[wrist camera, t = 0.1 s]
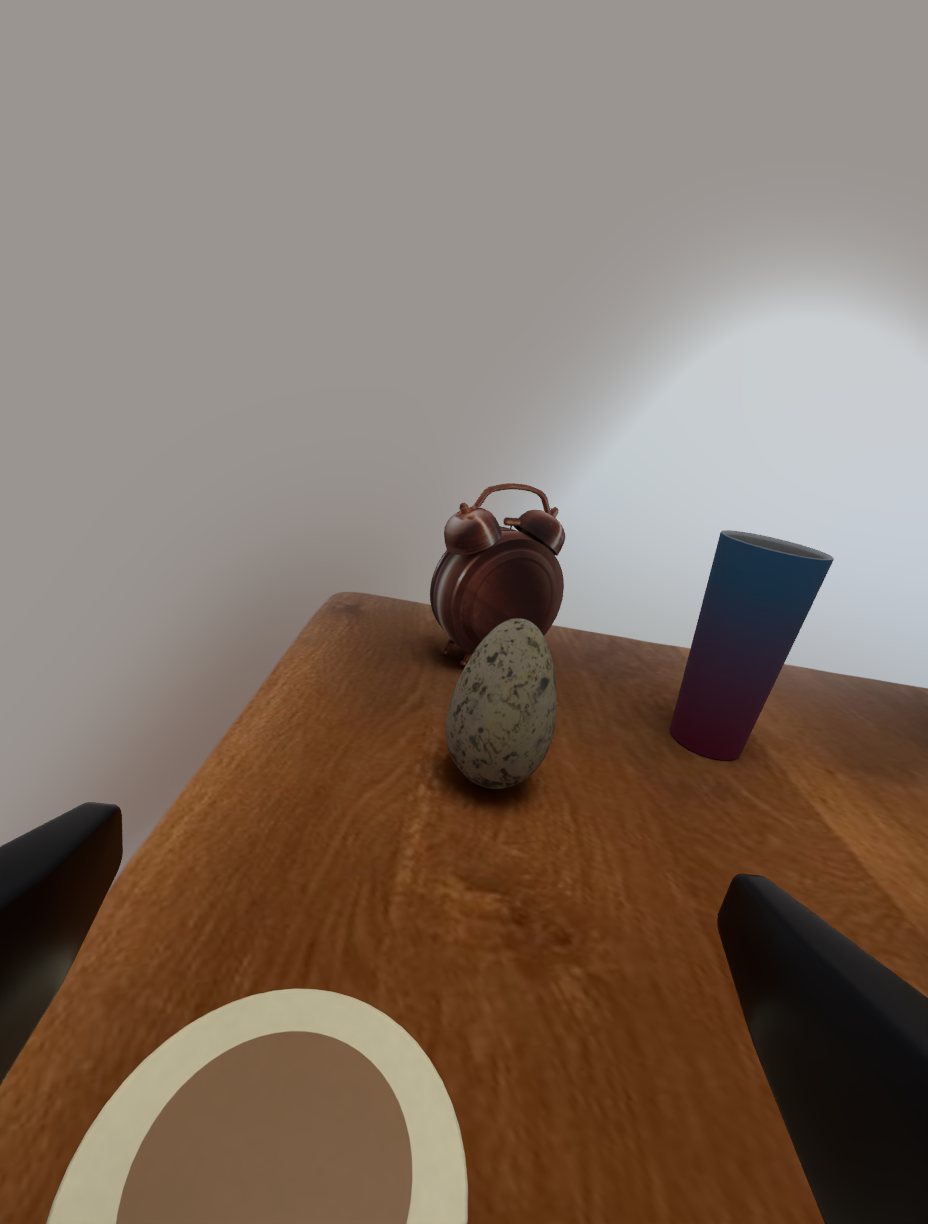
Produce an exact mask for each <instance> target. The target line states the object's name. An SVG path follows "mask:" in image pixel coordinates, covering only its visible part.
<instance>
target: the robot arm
mask: <svg viewBox="0 0 928 1224" xmlns="http://www.w3.org/2000/svg"><path fill="white" fill-rule="evenodd" d="M122 852H123V847H122V814H121V810H120V808H119V807H118V806H117V805H114V804H105V803H96V802H88V803H84V804H82V805H80V806H78V807H76V808H74V809H72V810H70V811H68V812H66V813H64V814H62V815H61V816H59V817H57V818H55V819H53V820H51V821H49V822H47V823H45V824H43V825H41V826H39V827H37V828H35V829H33V830H31V831H30V832H28V833H26V834H24V835H22V836H20V837H18V838H16V839H14V840H12V841H10V842H8V843H6V844H5V845H2V846H1V847H0V1085H1V1084H2V1082H3V1080H4V1079H5V1077H6V1075H7V1074H8V1072H9V1071H10V1069H11V1067H12V1066H13V1064H14V1062H15V1061H16V1059H17V1058H18V1056H19V1054H20V1053H21V1051H22V1049H23V1048H24V1046H25V1045H26V1043H27V1041H28V1040H29V1038H30V1036H31V1035H32V1033H33V1031H34V1030H35V1028H36V1027H37V1025H38V1023H39V1022H40V1020H41V1018H42V1017H43V1015H44V1014H45V1012H46V1010H47V1009H48V1007H49V1005H50V1004H51V1002H52V1000H53V999H54V997H55V995H56V993H57V992H58V990H59V988H60V987H61V985H62V983H63V981H64V979H65V977H66V975H67V973H68V971H69V970H70V968H71V966H72V964H73V962H74V960H75V958H76V955H77V953H78V951H79V949H80V947H81V945H82V943H83V941H84V939H85V937H86V935H87V933H88V931H89V929H90V927H91V925H92V923H93V921H94V919H95V917H96V915H97V913H98V911H99V908H100V906H101V904H102V902H103V900H104V898H105V896H106V894H107V892H108V890H109V888H110V886H111V884H112V882H113V880H114V878H115V876H116V874H117V871H118V869H119V866H120V863H121V860H122ZM717 924H718V931H719V935H720V938H721V941H722V945H723V948H724V951H725V954H726V958H727V961H728V964H729V968H730V971H731V974H732V978H733V981H734V984H735V987H736V991H737V994H738V997H739V1001H740V1004H741V1007H742V1010H743V1014H744V1017H745V1020H746V1023H747V1026H748V1029H749V1032H750V1035H751V1038H752V1041H753V1044H754V1047H755V1049H756V1052H757V1055H758V1057H759V1060H760V1062H761V1065H762V1067H763V1070H764V1072H765V1075H766V1077H767V1080H768V1082H769V1085H770V1087H771V1090H772V1092H773V1095H774V1097H775V1100H776V1102H777V1105H778V1107H779V1110H780V1112H781V1115H782V1117H783V1120H784V1122H785V1125H786V1127H787V1130H788V1132H789V1135H790V1137H791V1140H792V1142H793V1145H794V1147H795V1150H796V1152H797V1155H798V1157H799V1160H800V1162H801V1165H802V1167H803V1170H804V1172H805V1175H806V1177H807V1180H808V1182H809V1185H810V1187H811V1190H812V1192H813V1195H814V1197H815V1200H816V1202H817V1205H818V1207H819V1210H820V1212H821V1215H822V1217H823V1220H824V1222H825V1224H928V998H927V997H925V996H924V995H923V994H921V993H920V992H919V991H917V990H916V989H915V988H913V987H912V986H911V985H909V984H908V983H907V982H905V981H904V980H903V979H901V978H900V977H899V976H897V975H896V974H895V973H893V972H892V971H890V970H889V969H888V968H886V967H885V966H884V965H882V964H881V963H880V962H878V961H877V960H876V959H874V958H873V957H872V956H870V955H869V954H868V953H866V952H865V951H864V950H862V949H861V948H860V947H858V946H857V945H856V944H854V943H853V942H852V941H850V940H849V939H848V938H846V937H845V936H844V935H842V934H841V933H840V932H838V931H837V930H836V929H834V928H833V927H832V926H830V925H829V924H828V923H826V922H825V921H824V920H822V919H821V918H820V917H818V916H817V915H816V914H814V913H813V912H811V911H810V910H809V909H807V908H806V907H805V906H803V905H802V904H801V903H799V902H798V901H797V900H795V899H794V898H793V897H791V896H790V895H789V894H787V893H786V892H785V891H783V890H782V889H781V888H779V887H778V886H777V885H775V884H774V883H773V882H771V881H770V880H769V879H767V878H765V877H763V876H758V875H749V874H738V875H736V876H735V877H734V878H733V879H732V881H731V884H730V886H729V888H728V891H727V893H726V896H725V898H724V901H723V903H722V905H721V908H720V910H719V913H718V919H717Z"/></svg>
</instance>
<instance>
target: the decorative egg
mask: <svg viewBox="0 0 928 1224" xmlns="http://www.w3.org/2000/svg"><path fill="white" fill-rule="evenodd" d="M555 718H556V684H555V674H554V668H553V662H552V658H551V654H550V650H549V647H548V645H547V642H546V640H545V638H544V636H543V634H542V633H541V631H540V630H539V629H538V627H537V626H536V625H534V624H533V623H532V622H530V621H528V620H525V619H520V618H515V619H510V620H507V621H505V622H503V623H501V624H500V625H498V626H497V627H496V628H494V629H493V630H492V631H491V632H490V633H489V634H488V635H487V636H486V637H485V638H484V639H483V640H482V642H481V643H480V644H479V645H478V647H477V648H476V649H475V651H474V652H473V654H472V656H471V657H470V659H469V661H468V662H467V664H466V666H465V668H464V670H463V672H462V674H461V676H460V678H459V680H458V682H457V684H456V687H455V689H454V692H453V695H452V698H451V701H450V705H449V709H448V714H447V721H446V738H447V745H448V748H449V752H450V755H451V757H452V759H453V761H454V763H455V765H456V766H457V768H458V769H459V770H460V771H461V773H462V774H463V775H464V776H465V777H467V778H468V779H469V780H470V781H472V782H473V783H475V784H477V785H480V786H482V787H486V788H490V789H502V788H508V787H512V786H514V785H516V784H519V783H520V782H522V781H524V780H525V779H527V778H528V777H529V776H530V775H532V774H533V773H534V771H535V770H536V769H537V768H538V767H539V765H540V764H541V763H542V761H543V759H544V757H545V756H546V754H547V751H548V749H549V746H550V743H551V740H552V736H553V732H554V726H555Z"/></svg>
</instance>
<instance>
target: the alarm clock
mask: <svg viewBox="0 0 928 1224" xmlns="http://www.w3.org/2000/svg"><path fill="white" fill-rule="evenodd" d="M506 489H519V490H526V491H531V492H533V493H535V494H537V495H538V496H539V497H540V498H541V499H542V503H543V507H544V511H545V512H544V511H540V510H531V511H527V512H526V513H524V514H523V515H521V517H519V518H518V519H517V518H505V519H504V524H505V525H510V526H511V527H512V526H514V527H515V528H516V529H517V530H518V531H516V530H512V529H511V527H510V529H509V528H505V527H500V526H499V524H498V522H497V520H496V518H495V517H494V516H493V514H492V513H490V512H489V511H487V510H485V509H482V508H478V507H480V506H481V504H482V503H483V502H484V500H485V499H486V497H487V496H488V495H489V494H490V493H492V492H495V491H499V490H506ZM557 514H558V509H557V508H556V507H554V508H553V509H551V510H550V508H549V504H548V500H547V497H546V495H545V494H544V493H543V492H542V491H540V490H538V489H536V488H534V487H531V486H527V485H522V484H501V485H496V486H492V487H488V488H487V489H485V490H484V492H483V493H482V494H481V496H480V497H479V499H478V500H477V502H476V503H475V505H474V506H472V507H470V508H468V505H467V504H466V503H462V504H460V511H459V512H457V513H456V514H454V515H453V516H452V517H451V518H450V519H449V520H448V522H447V524H446V526H445V531H444V537H445V544H446V547H447V551H446V552H445V553H444V555H443V556H442V557H441V559H440V561H439V563H438V564H437V567H436V569H435V572H434V574H433V578H432V582H431V589H430V601H431V607H432V611H433V613H434V616H435V618H436V620H437V622H438V623H439V625H440V626H441V627H442V629H443V630H444V631H445V633H446V634H447V635H448V636H449V637H450V639H449V641H448V643H447V644H446V646H445V648H444V649H442V651H441V652H442V654H447V652H448V651H447V650H448V649H449V648H450V647H451V646H452V645H454V644H455V643H456V644H457V645H458V646H459V647H461V648H463V649H464V650H466V651H467V652H466V655H465V657H464V659H463V660H462V661H461V662H460V664H461V665H462V666H465V665H466V661H467V660H468V659H469V658H470V657H471V656H472V654H473V652H474V651H475V649H476V648H477V647H478V645H479V644H480V643H481V642H482V640H483V639H484V638H485V637H486V636H487V635H488V634H489V633H490V632H491V631H492V630H493V629H494V628H496V627H497V626H498V625H500V624H501V623H503V622H505V621H507V620H510V619H515V618H520V619H525V620H528V621H530V622H532V623H533V624H534V625H536V626H537V627H538V629H539V630H540V631H541V633H542V634H543V636H544V635H545V634H546V633H547V631H548V630H549V628H550V627H551V625H552V623H553V622H554V620H555V618H556V616H557V614H558V611H559V609H560V605H561V602H562V597H563V589H564V584H563V575H562V570H561V567H560V564H559V562H558V560H557V559H556V557H555V555H558V554H559V552H560V550H561V548H562V546H563V544H564V540H565V533H564V529H563V527H562V525H561V524H560V522H559V521H558V520H557V519H556V518H555V517H556V515H557Z"/></svg>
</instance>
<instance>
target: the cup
mask: <svg viewBox="0 0 928 1224" xmlns="http://www.w3.org/2000/svg"><path fill="white" fill-rule="evenodd" d="M832 561H833V557H831V556H830V555H828V554H826V553H823V552H821V551H818V550H815V549H812V548H809V547H806V546H802V545H799V544H795V543H791V542H788V541H783V540H780V539H775V538H771V537H766V536H762V535H757V534H751V533H745V532H738V531H722V532H721V533H720V537H719V541H718V545H717V549H716V553H715V557H714V561H713V565H712V569H711V572H710V576H709V580H708V584H707V588H706V591H705V595H704V599H703V604H702V607H701V611H700V615H699V619H698V623H697V626H696V631H695V634H694V638H693V642H692V646H691V650H690V653H689V657H688V661H687V665H686V669H685V673H684V677H683V681H682V684H681V688H680V692H679V696H678V700H677V704H676V708H675V712H674V715H673V719H672V723H671V727H670V732H671V734H672V736H673V737H674V738H675V739H676V740H677V741H678V742H679V743H680V744H682V745H683V746H684V747H686V748H688V749H690V750H691V751H693V752H696V753H698V754H700V755H703V756H706V757H709V758H713V759H718V760H733V759H736V758H738V757H739V756H740V754H741V752H742V750H743V748H744V746H745V744H746V742H747V740H748V738H749V735H750V733H751V731H752V729H753V727H754V725H755V723H756V721H757V719H758V717H759V714H760V712H761V710H762V708H763V706H764V704H765V702H766V700H767V698H768V696H769V694H770V691H771V689H772V687H773V685H774V683H775V681H776V679H777V677H778V675H779V673H780V671H781V668H782V666H783V664H784V662H785V660H786V658H787V656H788V654H789V652H790V650H791V647H792V645H793V643H794V641H795V639H796V637H797V635H798V633H799V630H800V628H801V627H802V624H803V622H804V620H805V618H806V616H807V614H808V612H809V610H810V608H811V606H812V604H813V601H814V599H815V597H816V595H817V593H818V591H819V589H820V587H821V585H822V583H823V581H824V578H825V576H826V574H827V572H828V570H829V568H830V566H831V564H832Z"/></svg>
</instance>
